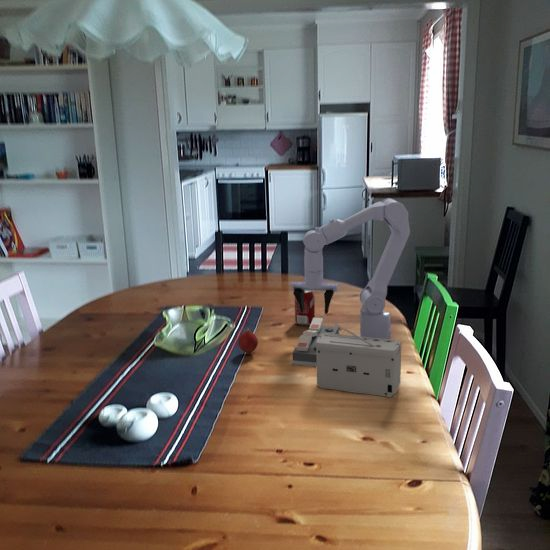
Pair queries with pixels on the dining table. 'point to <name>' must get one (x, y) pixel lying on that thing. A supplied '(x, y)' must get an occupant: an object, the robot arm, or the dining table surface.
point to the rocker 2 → (316, 324)
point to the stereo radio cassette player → (358, 363)
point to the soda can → (305, 309)
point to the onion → (248, 342)
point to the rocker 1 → (304, 343)
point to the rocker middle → (310, 333)
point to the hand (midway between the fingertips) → (314, 312)
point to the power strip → (311, 349)
